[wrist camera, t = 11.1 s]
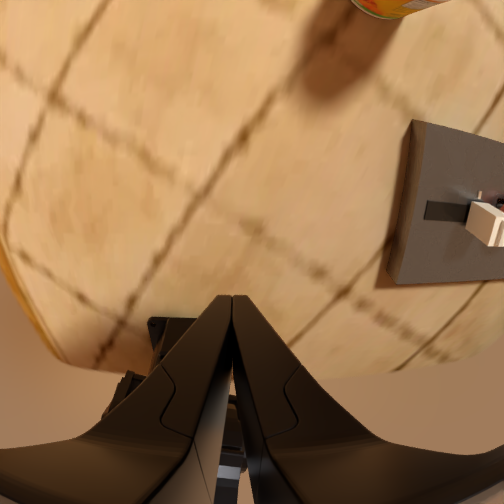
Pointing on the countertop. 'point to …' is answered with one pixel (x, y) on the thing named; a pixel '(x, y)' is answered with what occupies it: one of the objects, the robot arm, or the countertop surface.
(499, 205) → the red push button
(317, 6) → the countertop surface
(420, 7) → the supplement bottle
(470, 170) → the panel
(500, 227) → the ivory slide knob
